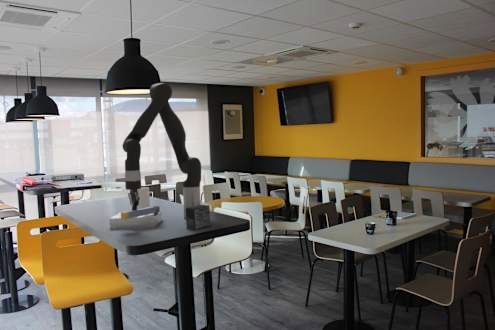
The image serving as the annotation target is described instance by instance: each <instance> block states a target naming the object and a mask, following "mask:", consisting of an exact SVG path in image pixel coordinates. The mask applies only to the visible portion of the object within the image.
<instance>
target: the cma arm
mask: <svg viewBox="0 0 495 330" xmlns="http://www.w3.org/2000/svg"><path fill="white" fill-rule="evenodd" d="M160 208H161V207H160V205H152V206H150V207H147V208H142V209H137V210H132V209H131V210H129V211H120V212H121V219H125V220H126V219H129V218H134V217H138V216H143V215H147V214H152V213H158V212H160V211H161V210H160Z"/></svg>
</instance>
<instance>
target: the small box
mask: <svg viewBox="0 0 495 330" xmlns="http://www.w3.org/2000/svg"><path fill="white" fill-rule="evenodd" d="M210 208H211V207H210V205H209V204H201V205H198V206H193V207H188V208H186V219H185V221H186V223H185V224H186V230H191V231H199V230H202V229H205V228H210V227H211V213H210V212H211V211H210V210H211V209H210Z"/></svg>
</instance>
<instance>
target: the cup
mask: <svg viewBox="0 0 495 330" xmlns="http://www.w3.org/2000/svg"><path fill="white" fill-rule="evenodd" d="M137 191H138V193H139V196H138V197H140V199H139V204H138V206H137V209H142V208H147V207H151V200H150V187H149V186H143V187H142V186H141V189H138V190H137Z"/></svg>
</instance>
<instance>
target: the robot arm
mask: <svg viewBox="0 0 495 330" xmlns="http://www.w3.org/2000/svg"><path fill="white" fill-rule="evenodd" d="M149 88H150V89H149V96H150V98H151V101H150V104H149V105H148V106H147V108H146V109H145V110H144V111H143V112H142V113H141V115H140V116H139V117H138V119H137V121H136V122H135V124H134V126H133V128H132V130H131V131H130V132H129V133H128V134H127V136H126V137H125V138H124V141H123V143H122V150H123V152H125V153H126V159H125V160H124V170H125V171H124V172H125V173H124V178H125V179H124V185H125V190H126V191H127V190H129V193H128V199H129V204H130V206H131V207H130V208H131V211H132V210H137V206H138V204H139V199H140V197H138V196H139V193H138V191H137V190H138V189H141V187H142V174H141V164H140V159H141V153H142V151H141V150H142V149H141V148H142V147H141V146H142V145H141V143H140V142H141V141H142V139H144V138H145V137H146V135H147V133H149V130H150V129H151V126H152V125H153V123H154V122H155V119H156V118H157V117H158V115H159V117H160V119H161V122H162V124H163V126H164V129H165V132H166V135H167V137H168V139H169V142H170V144H171V147H172V149H173V151H174V154H175V157H176V161H177V165H178V168H179V170H180V171H181V172H182V173H183V174H185V175H186V176H187V177H186V179H185V180H184V181H183V182H182V197H183V198H182V201H183V219H185V220H186V208H188V207H193V206H198V205H202V200H201V182H202V163H201V160H200V159H199V158H198V157H192V156H191V157H190V156H189V153H188V151H187V149H186V148H187V147H186V139H187V138H186V136H187V135H186V130H185V128H184V126H183V123H182V121H181V119H180V118H179V116H178V115H177V114H176V113H175V112H174V111H173V109H172V107H171V105H170V102H169V100H170V99H171V98H172V95H173V89H172V87H171V85H170V84H168V83H165V82H160V83H159V82H158V83H154V84H151V86H150V87H149Z"/></svg>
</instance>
